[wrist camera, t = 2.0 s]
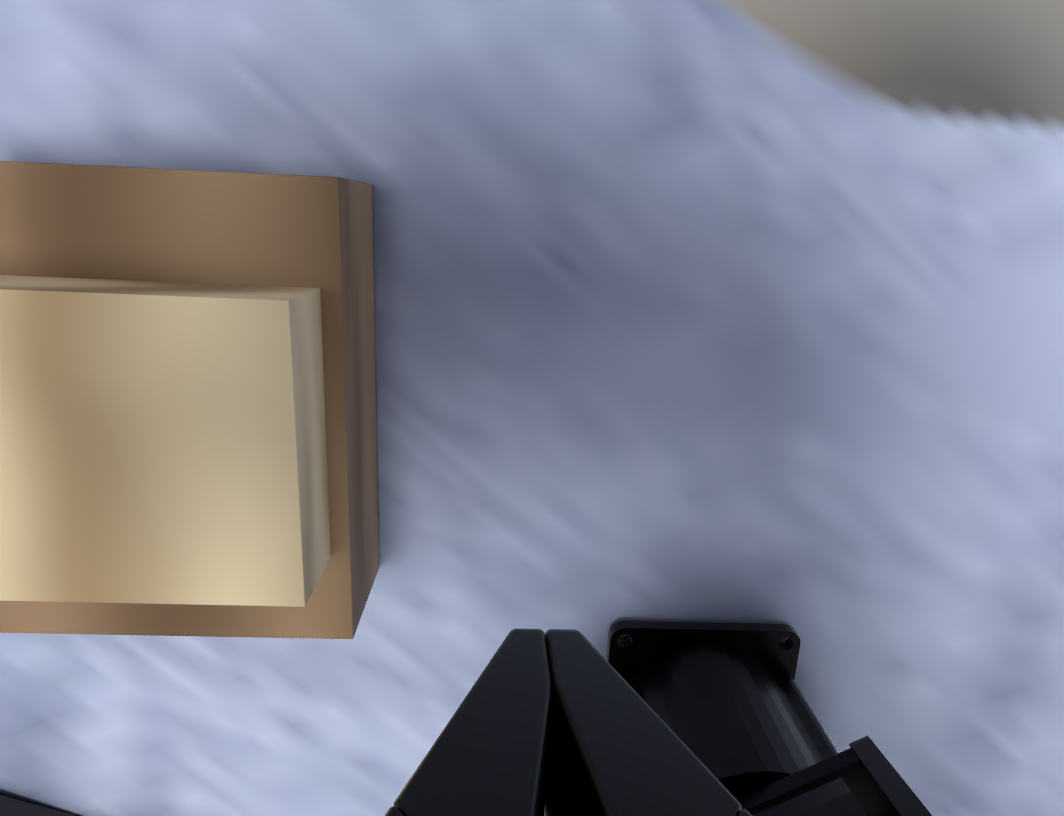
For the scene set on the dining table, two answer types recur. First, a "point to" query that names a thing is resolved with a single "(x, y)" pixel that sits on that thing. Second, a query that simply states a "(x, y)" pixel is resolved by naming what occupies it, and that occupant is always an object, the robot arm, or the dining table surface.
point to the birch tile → (161, 442)
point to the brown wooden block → (239, 259)
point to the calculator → (25, 808)
